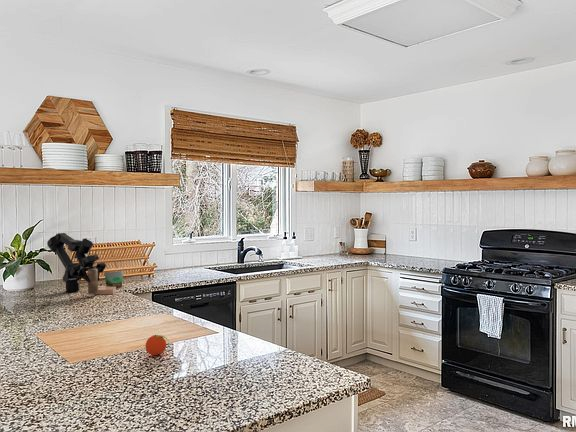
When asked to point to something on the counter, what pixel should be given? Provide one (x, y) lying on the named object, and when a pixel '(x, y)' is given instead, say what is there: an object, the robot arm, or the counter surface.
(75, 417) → the counter surface
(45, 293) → the counter surface
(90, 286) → the walnut cylinder
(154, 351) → the tomato
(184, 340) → the counter surface
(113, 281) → the food container
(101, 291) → the terracotta base
